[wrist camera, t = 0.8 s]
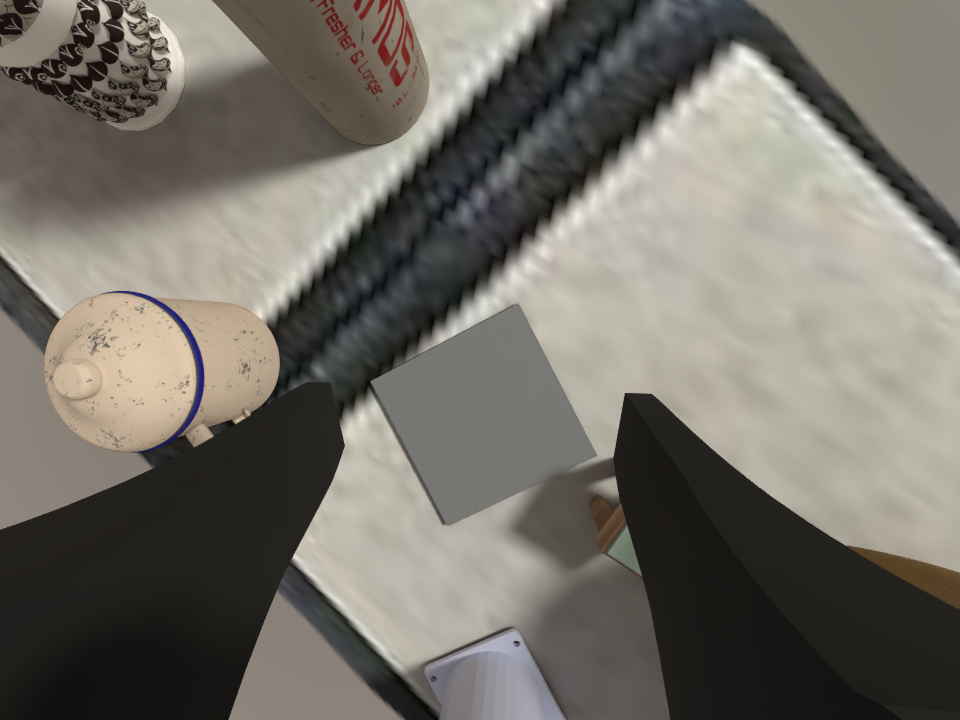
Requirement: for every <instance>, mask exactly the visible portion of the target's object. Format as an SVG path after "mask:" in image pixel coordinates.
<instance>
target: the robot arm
mask: <svg viewBox="0 0 960 720" xmlns="http://www.w3.org/2000/svg"><path fill="white" fill-rule="evenodd" d="M344 447H345V444H344V440H343V436H342V431H341V427H340V423H339V418H338V414H337V410H336V405H335V401H334V397H333V392H332V388H331V384H330V383H318V382H306V383H304V384H302V385H300V386H298V387H297V388H295V389H293V390H291V391H289V392H288V393H286V394H284V395H283V396H281V397H279V398H278V399H276V400H274V401H273V402H271V403H269V404H268V405H266V406H264V407H263V408H261V409H260V410H258V411H256V412H255V413H253V414H251V415H250V416H248V417H246V418H245V419H243V420H241V421H240V422H238V423H236V424H235V425H233V426H231V427H230V428H228V429H226V430H224V431H222V432H221V433H219V434H217V435H215V436H214V437H212V438H210V439H208V440H206V441H205V442H203V443H201V444H199V445H198V446H196V447H194V448H192V449H190V450H189V451H187V452H185V453H183V454H181V455H179V456H177V457H175V458H173V459H171V460H169V461H167V462H165V463H163V464H161V465H159V466H157V467H155V468H153V469H151V470H149V471H147V472H144V473H143V474H140V475H138V476H136V477H134V478H132V479H129V480H127V481H125V482H123V483H120V484H118V485H116V486H113V487H111V488H108V489H106V490H104V491H101V492H99V493H97V494H94V495H92V496H89V497H87V498H84V499H82V500H79V501H77V502H74V503H72V504H70V505H67V506H65V507H62V508H60V509H57V510H54V511H52V512H49V513H46V514H43V515H41V516H38V517H35V518H33V519H30V520H27V521H24V522H21V523H19V524H16V525H13V526H10V527H7V528H4V529H1V530H0V720H228V719H229V716H230V713H231V711H232V708H233V705H234V702H235V699H236V696H237V693H238V690H239V688H240V685H241V682H242V679H243V676H244V673H245V670H246V668H247V665H248V662H249V660H250V657H251V655H252V652H253V649H254V647H255V644H256V641H257V638H258V636H259V633H260V631H261V628H262V625H263V623H264V620H265V618H266V616H267V613H268V611H269V608H270V606H271V603H272V601H273V599H274V596H275V594H276V591H277V589H278V586H279V584H280V582H281V579H282V577H283V575H284V573H285V571H286V569H287V567H288V565H289V563H290V561H291V559H292V557H293V555H294V553H295V551H296V549H297V547H298V546H299V544H300V542H301V540H302V538H303V536H304V534H305V532H306V530H307V529H308V527H309V525H310V523H311V521H312V519H313V517H314V515H315V514H316V512H317V510H318V508H319V506H320V504H321V502H322V500H323V498H324V496H325V494H326V492H327V491H328V489H329V487H330V485H331V483H332V480H333V478H334V475H335V473H336V470H337V467H338V465H339V462H340V459H341V456H342V453H343V450H344ZM613 460H614V466H615V473H616V480H617V486H618V492H619V498H620V502H621V505H622V509H623V512H624V516H625V519H626V523H627V526H628V530H629V533H630V537H631V540H632V544H633V547H634V550H635V554H636V557H637V561H638V564H639V568H640V571H641V574H642V578H643V581H644V585H645V588H646V592H647V596H648V600H649V604H650V608H651V613H652V619H653V624H654V629H655V634H656V640H657V645H658V650H659V656H660V661H661V667H662V673H663V679H664V684H665V690H666V696H667V702H668V708H669V713H670V720H960V610H959V609H957V608H955V607H953V606H952V605H950V604H948V603H946V602H944V601H942V600H940V599H938V598H937V597H935V596H933V595H931V594H929V593H927V592H925V591H924V590H922V589H920V588H918V587H916V586H914V585H912V584H910V583H909V582H907V581H905V580H903V579H901V578H900V577H898V576H896V575H894V574H893V573H891V572H889V571H887V570H886V569H884V568H882V567H880V566H879V565H877V564H875V563H873V562H872V561H870V560H868V559H867V558H865V557H863V556H862V555H860V554H858V553H857V552H855V551H853V550H852V549H850V548H849V547H847V546H845V545H844V544H842V543H840V542H839V541H837V540H835V539H834V538H832V537H830V536H829V535H827V534H826V533H824V532H823V531H821V530H820V529H818V528H816V527H815V526H813V525H812V524H810V523H809V522H807V521H806V520H804V519H803V518H801V517H800V516H799V515H797V514H796V513H794V512H793V511H791V510H790V509H788V508H787V507H786V506H784V505H783V504H781V503H780V502H778V501H777V500H776V499H774V498H773V497H771V496H770V495H769V494H767V493H766V492H765V491H763V490H762V489H761V488H759V487H758V486H757V485H755V484H754V483H753V482H751V481H750V480H749V479H748V478H746V477H745V476H744V475H743V474H741V473H740V472H739V471H738V470H736V469H735V468H734V467H733V466H731V465H730V464H729V463H728V462H727V461H725V460H724V459H723V458H722V457H721V456H719V455H718V454H717V453H716V452H715V451H714V450H712V449H711V448H710V447H709V446H708V445H707V444H706V443H705V442H703V441H702V440H701V439H700V438H699V437H698V436H697V435H696V434H695V433H693V432H692V431H691V430H690V429H689V428H688V427H687V426H686V425H685V424H684V423H683V422H682V421H681V420H679V419H678V418H677V417H676V416H675V415H674V414H673V413H672V412H671V411H670V410H669V409H668V408H667V407H666V406H665V405H664V404H662V403H661V402H660V401H659V400H658V399H657V398H656V397H655V396H654V395H652V394H640V393H625V396H624V402H623V407H622V413H621V419H620V424H619V430H618V435H617V441H616V447H615V452H614V458H613ZM514 641H519V643H514ZM424 675H425V677H426V679H427V681H428V682H429V684H430V686H431V688H432V690H433V692H434V694H435V695H436V697H437V699H438V701H439V703H440V705H441V706H442V708H441V713H440V718H439V720H566V719H565V717H564V715H563V713H562V711H561V710H560V708H559V706H558V704H557V702H556V700H555V698H554V696H553V695H552V693H551V691H550V689H549V687H548V685H547V683H546V681H545V679H544V678H543V676H542V674H541V672H540V670H539V668H538V666H537V664H536V663H535V661H534V659H533V657H532V655H531V653H530V651H529V649H528V647H527V646H526V644H525V642H524V640H523V638H522V636H521V634H520V632H519V631H518V630H517V629H514V628H512V629H509V630H506V631H504V632H502V633H499V634H497V635H495V636H492V637H490V638H488V639H486V640H483V641H481V642H479V643H476V644H474V645H472V646H469V647H467V648H465V649H462V650H460V651H458V652H455V653H453V654H451V655H448V656H446V657H444V658H441V659H439V660H437V661H434V662H432V663H430V664H428V665H426V667H425V670H424ZM432 676H435V677H436V678H433V677H432Z"/></svg>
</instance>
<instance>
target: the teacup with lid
mask: <svg viewBox="0 0 960 720" xmlns="http://www.w3.org/2000/svg"><path fill="white" fill-rule="evenodd" d="M279 368H280V359H279V352H278V347H277V344H276V341H275V339H274V337H273V335H272V333H271V331H270V330H269V328H268V327H267V326H266V324H265V323H264V322H263V321H262V320H261V319H260V318H259V317H258V316H256V315H255V314H254V313H252V312H251V311H249V310H247V309H246V308H243V307H241V306H238V305H235V304H230V303H221V302H208V301H194V300H180V299H167V298H153V297H150V296H148V295H145V294H141V293H137V292H130V291H114V292H107V293H103V294H100V295H96V296H93V297H91V298H88V299H86V300H84V301H82V302H80V303H79V304H77V305H76V306H74V307H73V308H72V309H70V310H69V311H68V312H67V313H66V314H65V315H64V316H63V317H62V318H61V319H60V321H59V322H58V323H57V325H56V326H55V328H54V330H53V332H52V334H51V336H50V338H49V341H48V344H47V347H46V352H45V360H44V374H45V382H46V386H47V390H48V394H49V396H50V399H51V401H52V403H53V406H54V407H55V409H56V411H57V413H58V414H59V416H60V417H61V418H62V420H63V421H64V422H65V423H66V425H68V427H69V428H70V429H71V430H72V431H74V432H75V433H76V434H77V435H79V436H80V437H82V438H83V439H84V440H86V441H88V442H89V443H91V444H94V445H96V446H98V447H101V448H104V449H108V450H112V451H118V452H133V453H136V452H145V451H151V450H154V449H157V448H160V447H162V446H164V445H166V444H168V443H170V442H172V441H173V440H174V439H176V438H177V437H180V436H183V435H186V437H187V438H188V440H189V441H190V442H191V444H192V445H193V446H194V447H196V446H198V445H199V444H201V443H203V442H205V441H206V440H208V439H210V438H212V437H214V435H213V434H212V433H211V431H210V430H209V429H208V427H210V426H213V425H216V424H219V423H222V422H225V421H228V420H232V421H233V422H234V424H236V423H238V422H240V421H241V420H243V419H245V418H246V417H248V416H250V415H251V414H250V412H252V411H254V410H256V409H257V408H258V407H260V406H261V405H262V404H263V403H264V402H265V401H266V400H267V399H268V397H269V396H270V394H271V393H272V391H273V389H274V387H275V385H276V382H277V379H278V375H279Z"/></svg>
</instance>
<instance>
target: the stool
mask: <svg viewBox="0 0 960 720" xmlns="http://www.w3.org/2000/svg"><path fill="white" fill-rule="evenodd" d="M589 507H590V510H591V512H592V515H593V518H594V520H595V523H596V525H597V528H598V531H599V534H598V535H597V537H596V538H597V541H598V544H599V547H600V549H601V552H603V553H604V554H606V555H607V556H609V557H610V558H612V559H614V560H615V561H617V562H618V563H620V564H621V565H623V566H624V567H626V568H627V569H629V570H630V571H632V572H634V573H635V574H637V575H638V576H640V577H641V578H642V574H641V571H640V568H639V564H638V561H637V557H636V554H635V550H634V547H633V544H632V540H631V537H630V533H629V530H628V526H627V523H626V519H625V516H624V512H623V509H622V505H621V503H620V504H619V506H618V507H617V509H616V510H615V511H614V512H613V510H612V508H611V506H610V504H609V502H608V501H606V500H604V499H603V498H601V497H600V496H598V495H596V496H595V498H594V499H593V501H592V502H591V504H590V505H589Z"/></svg>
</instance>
